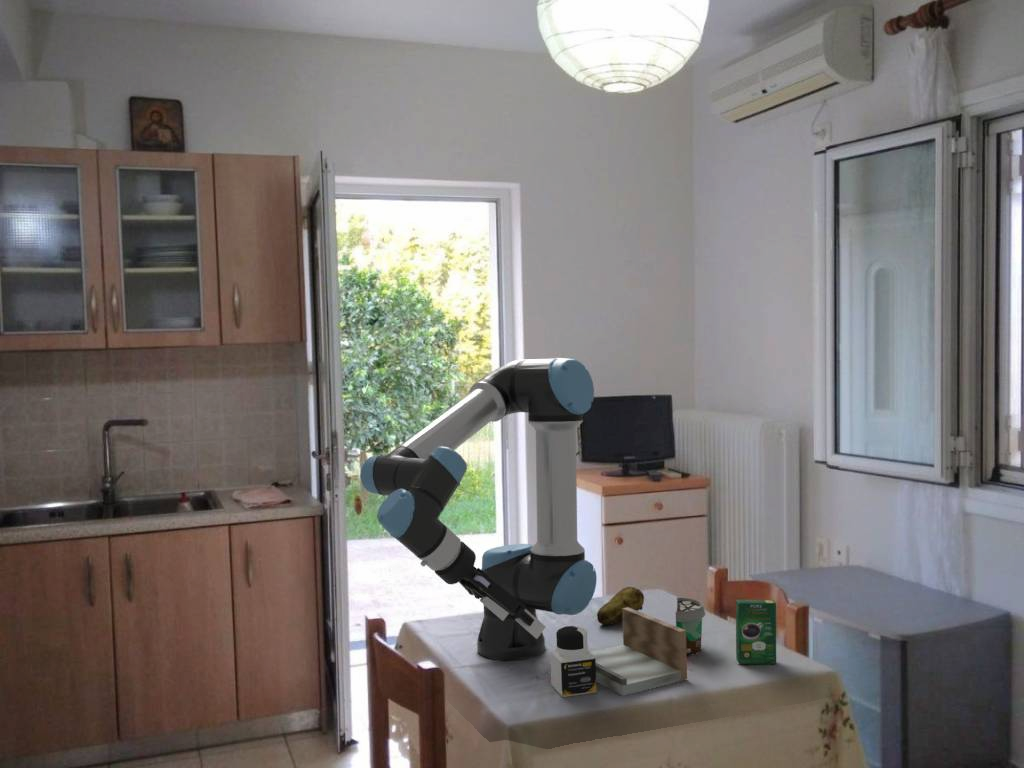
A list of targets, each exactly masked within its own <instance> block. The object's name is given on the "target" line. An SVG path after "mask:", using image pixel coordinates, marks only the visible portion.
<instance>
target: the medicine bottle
mask: <svg viewBox="0 0 1024 768" xmlns="http://www.w3.org/2000/svg"><path fill="white" fill-rule="evenodd" d="M555 634H556V649H551V650H550V651H549V656H550V660H549V661H550V680H551V681H550V683H551V686H552V687H553V688H554V690H556V691H557V693H558V694H559V695H560V696H561V697H562V698H568V697H574V696H575V697H576V696H580V695H581V696H582V695H588V694H594V693H597V682H596V660H595V656H593V655H592V654H591V653H590V652H591V651H589V647H588V645H589V644H588V643H589V642H588V631H587V630H586V629H585V628H583V627H580V626H576V625H569V626H568V625H567V626H563V627H561V628H559V629H557V631H556V633H555Z"/></svg>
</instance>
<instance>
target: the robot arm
mask: <svg viewBox="0 0 1024 768" xmlns="http://www.w3.org/2000/svg"><path fill="white" fill-rule="evenodd" d="M594 399H595V387H594V382H593V379H592V375H591V373H590V371H589V370H588V369H587V367H586V366H585V365H584V364H583V363H582V362H581V361H579V360H577V359H574V358H564V357H563V358H562V357H555V358H554V357H553V358H536V359H535V358H530V359H528V358H527V359H526V358H522V359H517V360H513V361H510V362H507V363H505V364H503V365H501V366H499V367H498V368H495V369H494V370H493V371H491V372H489V373H487V374H486V375H484V376H483V377H481V378H480V379H479V380H477V381H476V382H475V383H474V384H472V386H471V387H470V388H469V392H468V394H467V395H465V396H464V397H463V398H461V399H460V400H458V401H457V402H455V404H454V405H452V406H451V407H449V408H448V409H446V410H445V411H444V412H443V413H441V414H440V415H439V416H437V417H436V418H435V419H433V420H432V421H431V422H429V423H428V424H427V425H425V426H423V428H421V429H420V430H419V431H417V432H416V433H415V434H413V435H412V436H411V437H409V438H408V439H406V440H405V441H404V442H402V443H401V444H399V446H397V447H396V448H394V449H393V450H391V451H390V452H389V453H388V454H385V455H383V454H378V455H372V456H370V457H368V458H367V459H366V460H364V462H363V464H362V466H361V468H360V476H359V477H360V482H361V484H362V486H363V487H364V489H365V490H366V491H367V492H369V493H371V494H377V495H381V496H384V497H385V496H387V497H386V498H385V499H384V500H383V501H382V502H381V503H380V506H379V507H378V510H377V512H376V513H377V514H376V518H377V521H378V523H379V524H380V525H381V526H382V527H383V529H384V530H385V531H386V532H387V533H388V534H389V535H390V536H391V537H392V538H394V539H395V540H396V541H398V542H399V543H400V544H402V545H403V546H404V547H406V549H407V550H409V552H411V553H412V554H413V555H414V556H415V557H417V558H418V560H421V561H420V565H421V566H422V567H426V566H427V567H428V568H429V569H430V570H432V571H434V573H435V574H436V575H437V577H439V578H440V579H441V580H442V581H443V582H445V583H446V584H447V585H455V584H458V583H459V584H460V585H461V586H462V587H463V588H464V589H465V590H466V592H467V593H468V594H469V595H471V596H474V598H475V599H477V600H479V602H481V604H483V619H482V622H481V626H480V630H479V633H478V637H477V641H476V642H477V643H476V646H477V653H478V652H479V653H480V654H479V653H478V654H479V655H481V654H482V655H484V656H483V657H485V656H486V657H485V658H489V659H491V660H501V661H502V660H503V661H504V660H505V661H508V660H509V661H511V660H512V661H513V660H514V661H515V660H522V659H523V660H524V659H528V658H531V657H534V656H538V655H540V654H541V653H543V652H544V651H545V649H546V640H545V638H546V637H545V636H544V633H543V631H544V630H545V628H546V625H544V623H542V622H541V621H540V620H539V619H538V616H537V611H538V610H540V611H544V612H548V613H553V614H555V615H559V616H560V615H566V616H567V615H568V616H574V615H578V614H580V613H582V612H583V611H584V610H585V609H586V608H587V607H588V606H589V604H590V602H591V601H592V599H593V597H594V594H595V592H596V586H597V572H596V569H595V568H594V565H593V564H592V563H591V562H590V561H588V560H586V555H585V553H586V552H585V551H586V550H585V548H584V546H582V544H580V543H579V541H578V502H577V501H578V491H577V490H578V489H577V481H578V480H577V429H578V427H579V426H580V425H581V424H582V423H583V422H584V418H583V417H584V414H585V413H587V412H588V411H589V410H590V409H591V407H592V403H593V402H594ZM517 413H528V415H527V416H528V418H527V419H528V421H527V422H528V424H530V425H531V426H532V427H533V429H534V430H535V471H536V472H535V476H536V478H535V480H536V481H535V482H536V539H537V540H536V542H535V543H534V544H533V545H532V544H530V543H515V544H514V543H513V544H508V545H507V544H506V545H502V546H496V547H493V548H490V549H487V550H485V552H483V554H482V557H481V558H482V559H481V568H479V567H475V562H476V558H477V556H476V552H475V551H474V550H472V549H471V548H470V547H469V545H468V544H466V543H465V542H464V541H462V540H461V538H460V537H458V535H456V534H455V533H454V532H453V531H452V530H451V529H450V528H449V527H448V526H447V525H445V524H444V523H443V522H442V521H441V520H440V519H439V518H440V516H441V514H442V513H443V511H444V510H445V508H446V506H447V505H448V503H449V502H450V499H451V498H452V497H453V495H454V493H455V492H456V491H457V489H458V487H459V486H460V485H461V483H462V480H463V478H464V476H465V474H466V472H467V469H468V465H467V463H466V461H465V459H464V458H463V457H462V455H461V454H460V453H458V452H457V451H455V450H457V448H459V447H460V446H461V445H463V444H464V443H465V442H466V441H468V440H469V439H470V438H472V437H473V436H474V435H476V434H477V433H478V432H479V431H480V430H482V429H483V428H484V427H485V426H487V425H488V424H489V423H490V422H495V423H496V422H499V421H500V420H502V419H503V418H505V417H506V416H508V415H511V414H517ZM482 655H481V656H482Z"/></svg>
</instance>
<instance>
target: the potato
mask: <svg viewBox="0 0 1024 768" xmlns="http://www.w3.org/2000/svg"><path fill="white" fill-rule="evenodd" d="M644 603H645V595H644V593H643V591H641V590H640V589H639V588H636V587H635V586H634V587H633V586H627V587H623V588H622V589H620V590H619V591H617V593H615V594H614V596H613V597H611V598H610V600H609V601H608V602H606V603H605V604H603V605H602V606H601V607H600V608H599V609H598V611H597V613H596V616H597V622H598V623H599V624H601V625H603V626H610V625H613V624H617V623H621V622H623V616H622V608H627V607H629V608H631V609H634V610H636V611H642V610H643V606H644Z"/></svg>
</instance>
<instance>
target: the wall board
mask: <svg viewBox="0 0 1024 768" xmlns="http://www.w3.org/2000/svg"><path fill="white" fill-rule="evenodd" d="M622 616H623V621H622V637H623V638H622V639H623V641H622V642H623V644H620V645H617V646H612V647H607V648H603V649H599V650H598V649H597V650H594V651H589V652H590V653H591V654H592V655H593V656H595V660H596V681H597V682H596V683H598V684H601V685H602V686H604V687H606V688H607V689H609V690H611V691H612V692H615V693H617V694H619V695H620V696H623V697H624V696H629V695H632V694H637V693H640V692H644V690H645V691H649V690H653V689H656V687H657V688H660V686H661V687H664V685H665V686H668V684H669V685H672V683H673V684H676V683H675V682H677V683H680V682H679V681H681V682H684V681H683V680H685V681H687V680H688V659H687V657H688V656H687V653H686V630H684V629H681V628H679V627H676V625H673V624H671V623H669V622H666V621H664V620H661V619H659V618H655V617H653V616H651V615H649V614H645V613H644V612H642V611H640V610H638V611H636V610H634V609H631V608H629V607H627V608H622ZM686 679H687V680H686ZM652 688H653V689H652ZM648 689H649V690H648Z"/></svg>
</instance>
